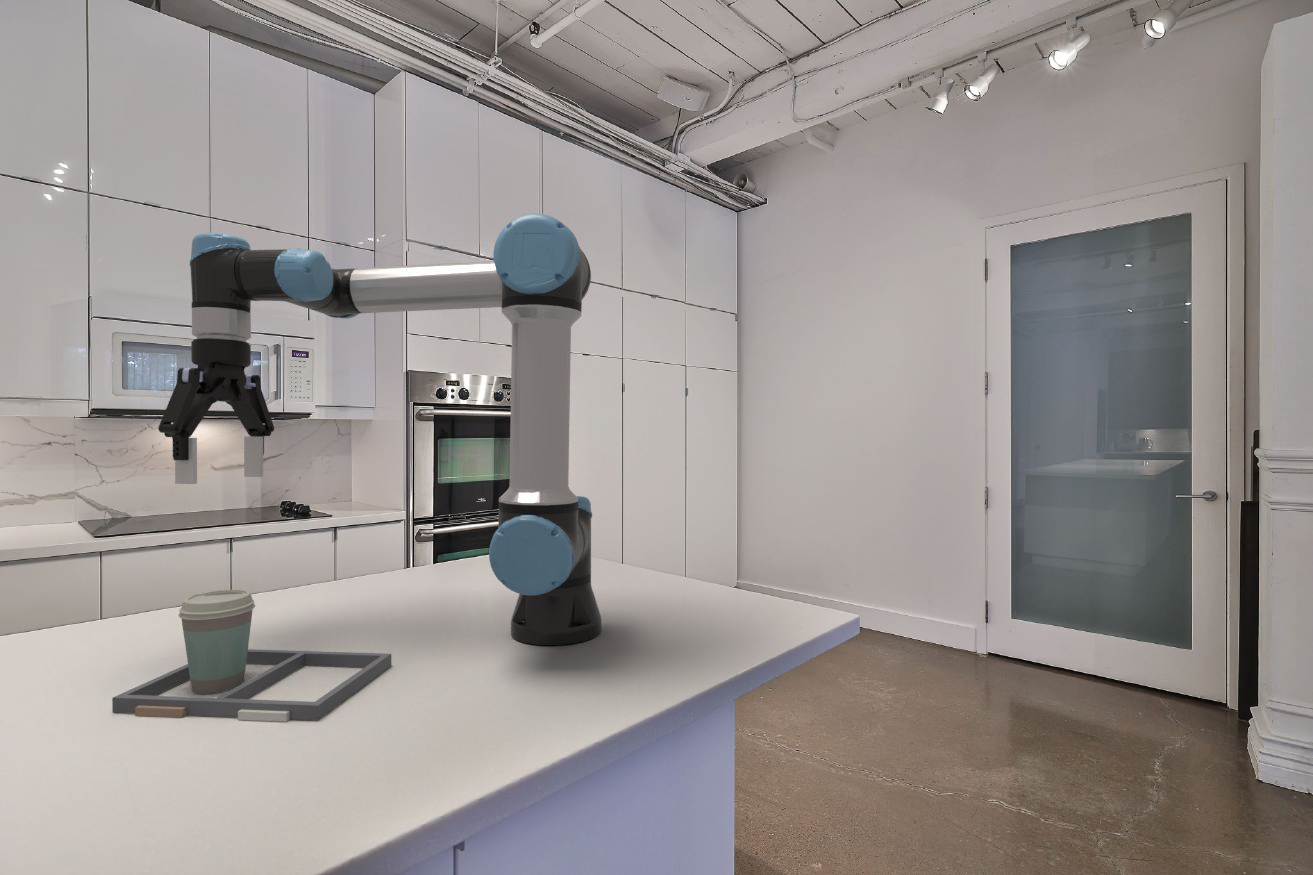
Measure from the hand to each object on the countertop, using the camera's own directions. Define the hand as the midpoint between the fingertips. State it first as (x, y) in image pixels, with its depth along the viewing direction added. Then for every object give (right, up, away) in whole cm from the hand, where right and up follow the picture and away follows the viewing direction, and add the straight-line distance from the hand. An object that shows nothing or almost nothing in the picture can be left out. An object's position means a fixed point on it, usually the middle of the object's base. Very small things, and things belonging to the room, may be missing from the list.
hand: (222, 480), depth 101 cm
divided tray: (+14, -27, -13) cm, 33 cm away
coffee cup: (+7, -27, -12) cm, 30 cm away
